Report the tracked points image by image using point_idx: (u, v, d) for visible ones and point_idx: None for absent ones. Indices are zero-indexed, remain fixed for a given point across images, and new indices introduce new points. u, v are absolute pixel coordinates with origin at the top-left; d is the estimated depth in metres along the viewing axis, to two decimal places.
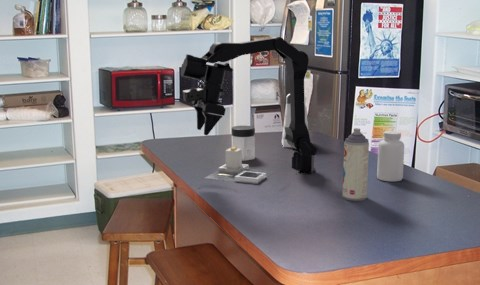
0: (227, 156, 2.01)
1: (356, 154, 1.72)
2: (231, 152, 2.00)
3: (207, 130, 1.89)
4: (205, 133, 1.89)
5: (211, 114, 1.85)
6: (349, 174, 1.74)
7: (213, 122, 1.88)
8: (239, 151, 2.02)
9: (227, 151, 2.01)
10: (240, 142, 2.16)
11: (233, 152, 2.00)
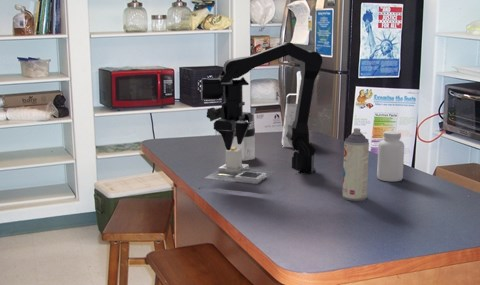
0: (227, 156, 2.01)
1: (356, 154, 1.72)
2: (231, 152, 2.00)
3: (227, 145, 1.97)
4: (227, 148, 1.98)
5: (222, 130, 1.93)
6: (349, 174, 1.74)
7: (229, 137, 1.95)
8: (239, 151, 2.02)
9: (227, 151, 2.01)
10: None
11: (233, 152, 2.00)
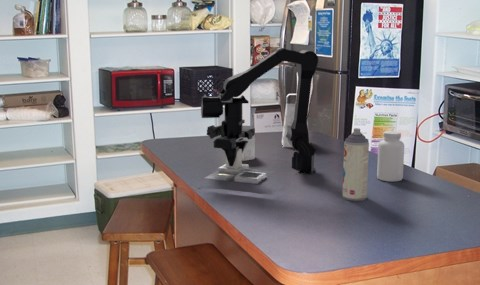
0: None
1: (356, 154, 1.72)
2: None
3: (230, 161, 2.00)
4: (230, 164, 2.01)
5: None
6: (349, 174, 1.74)
7: (232, 154, 1.99)
8: (239, 151, 2.02)
9: None
10: None
11: None
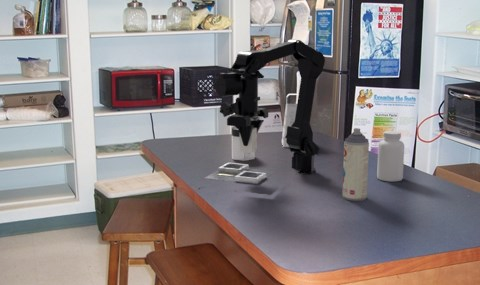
0: None
1: (356, 154, 1.72)
2: None
3: (244, 141, 1.89)
4: (244, 144, 1.90)
5: None
6: (349, 174, 1.74)
7: (247, 132, 1.87)
8: (254, 130, 1.90)
9: None
10: None
11: None
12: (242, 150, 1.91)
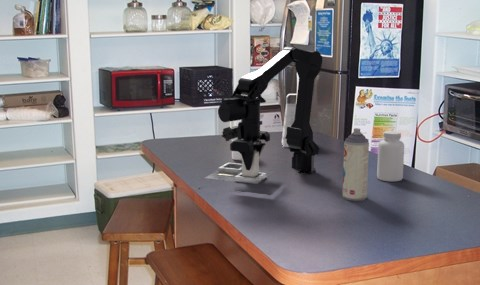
0: None
1: (356, 154, 1.72)
2: None
3: (247, 165, 1.89)
4: (246, 168, 1.90)
5: None
6: (349, 174, 1.74)
7: (249, 157, 1.88)
8: (256, 154, 1.91)
9: None
10: None
11: None
12: (245, 174, 1.91)
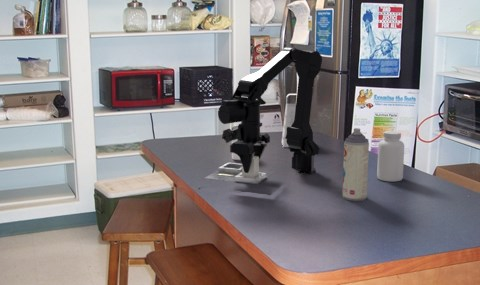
0: None
1: (356, 154, 1.72)
2: None
3: (245, 168, 1.88)
4: (245, 171, 1.89)
5: (240, 153, 1.85)
6: (349, 174, 1.74)
7: (248, 160, 1.87)
8: (256, 159, 1.91)
9: None
10: None
11: None
12: None
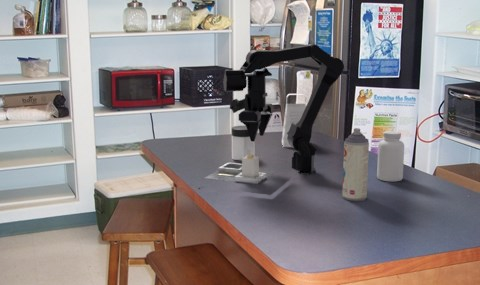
0: (244, 164, 1.91)
1: (356, 154, 1.72)
2: (248, 160, 1.90)
3: (252, 136, 1.97)
4: (251, 139, 1.97)
5: (247, 121, 1.93)
6: (349, 174, 1.74)
7: (254, 128, 1.95)
8: (256, 159, 1.91)
9: (244, 159, 1.90)
10: (240, 142, 2.16)
11: (250, 160, 1.90)
12: None
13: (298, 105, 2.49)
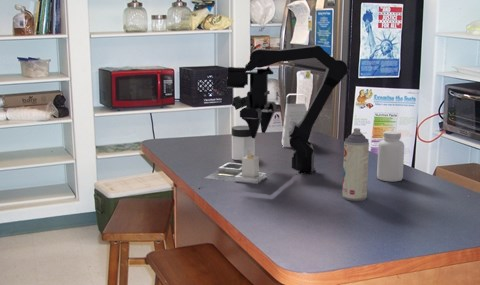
0: (244, 164, 1.91)
1: (356, 154, 1.72)
2: (248, 160, 1.90)
3: (253, 133, 2.00)
4: (252, 136, 2.01)
5: (247, 118, 1.97)
6: (349, 174, 1.74)
7: (255, 125, 1.99)
8: (256, 159, 1.91)
9: (244, 159, 1.90)
10: (240, 142, 2.16)
11: (250, 160, 1.90)
12: None
13: (298, 105, 2.48)
